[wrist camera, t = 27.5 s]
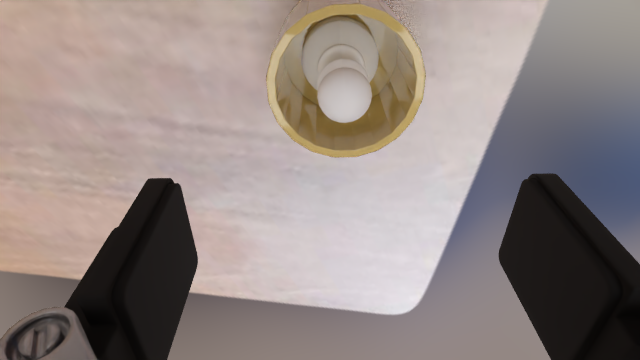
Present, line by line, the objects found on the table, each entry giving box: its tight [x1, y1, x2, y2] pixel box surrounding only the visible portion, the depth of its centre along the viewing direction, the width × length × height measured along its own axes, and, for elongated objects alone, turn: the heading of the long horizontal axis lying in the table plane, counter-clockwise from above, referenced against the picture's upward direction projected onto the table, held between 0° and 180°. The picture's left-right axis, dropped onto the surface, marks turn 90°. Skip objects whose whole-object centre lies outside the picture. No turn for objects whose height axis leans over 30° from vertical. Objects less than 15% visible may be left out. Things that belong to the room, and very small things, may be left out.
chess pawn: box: [301, 16, 379, 123], centre depth 23 cm, size 5×5×9 cm
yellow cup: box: [266, 0, 426, 157], centre depth 25 cm, size 9×9×7 cm
